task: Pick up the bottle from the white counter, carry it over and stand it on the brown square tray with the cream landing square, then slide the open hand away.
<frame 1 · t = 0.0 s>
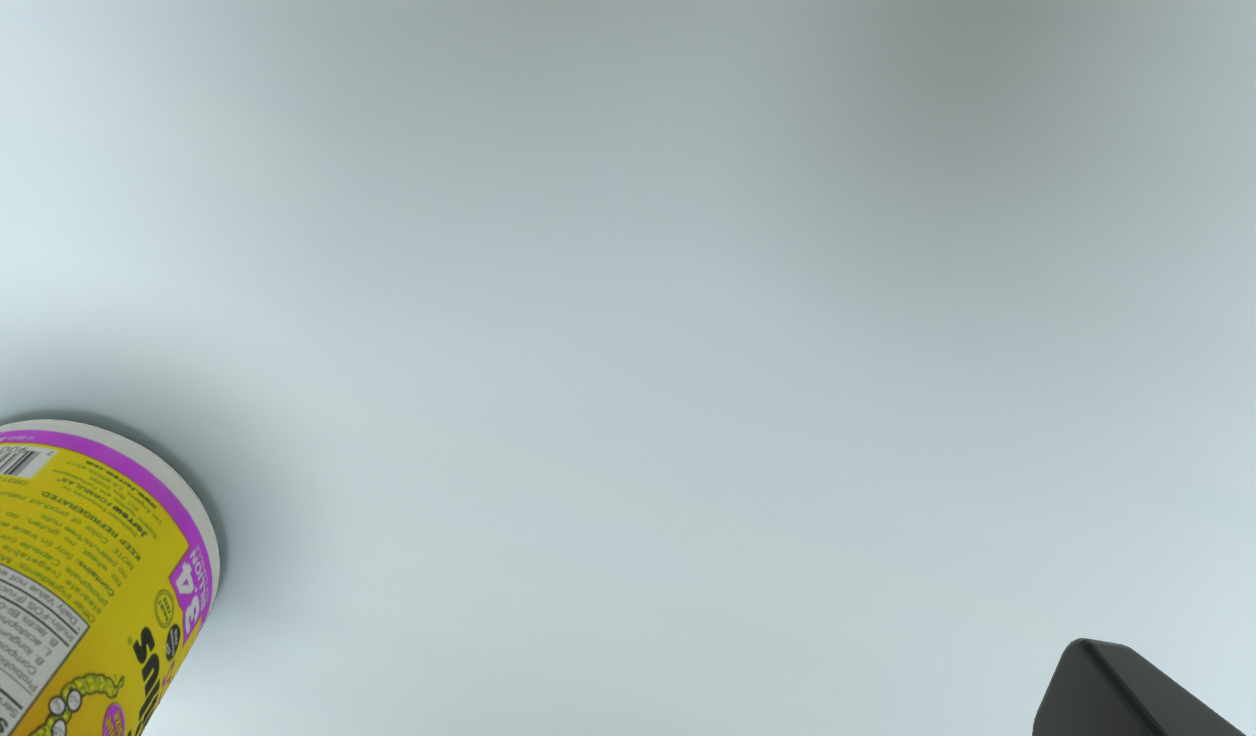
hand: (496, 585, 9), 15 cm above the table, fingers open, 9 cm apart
supplement bottle: (91, 529, 27), on the table
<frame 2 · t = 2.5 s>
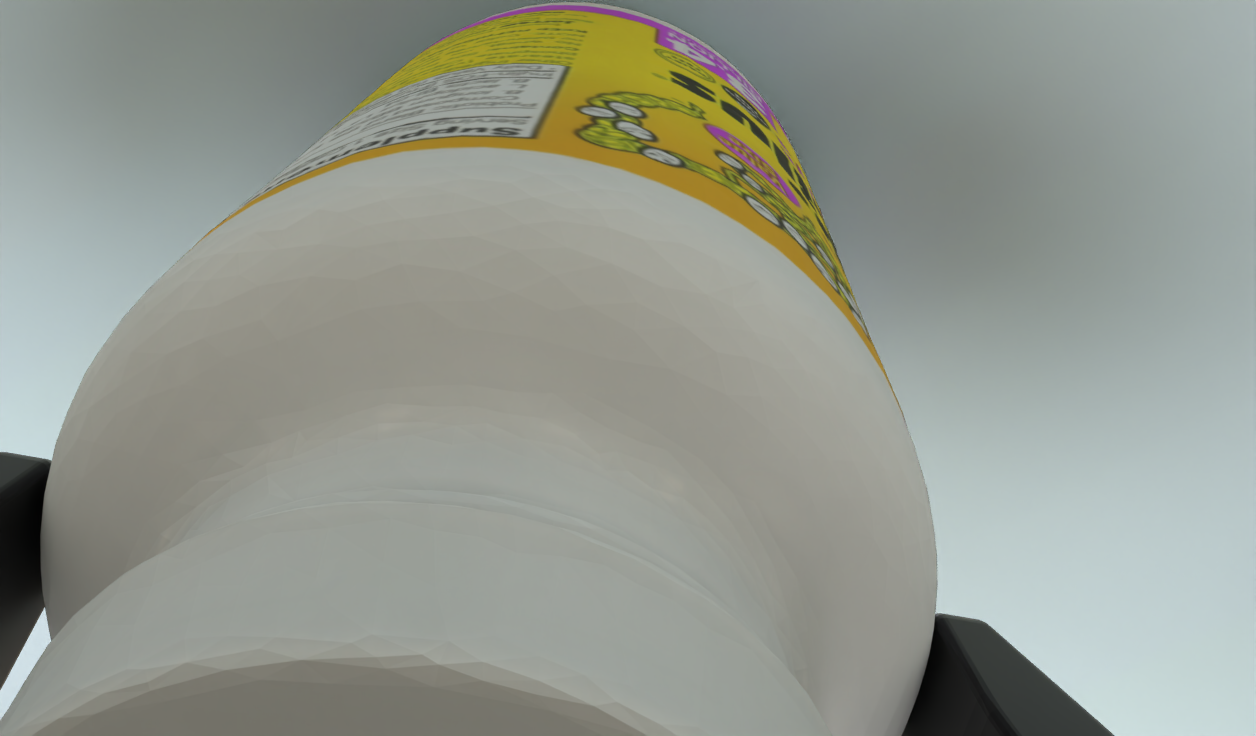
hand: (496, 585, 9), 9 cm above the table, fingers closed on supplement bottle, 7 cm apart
supplement bottle: (580, 219, 17), on the table, touching gripper
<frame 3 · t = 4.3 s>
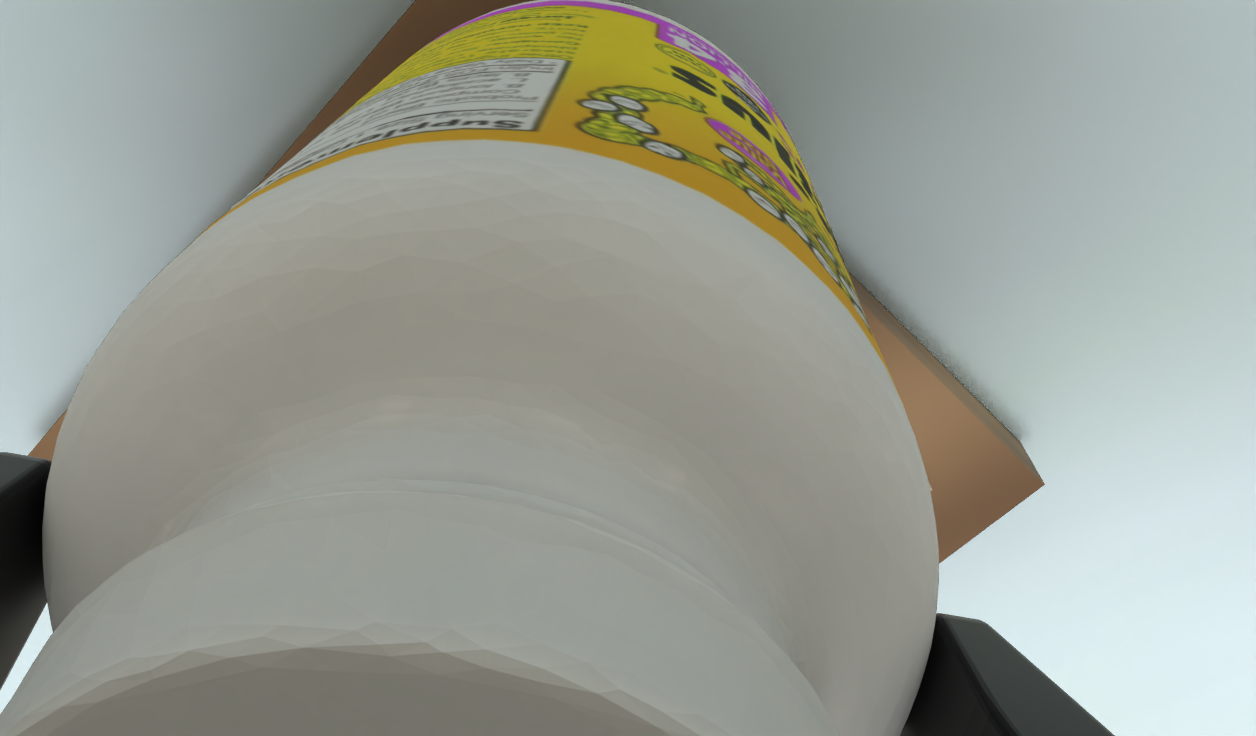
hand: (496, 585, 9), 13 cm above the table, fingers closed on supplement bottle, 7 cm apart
brown square tray: (525, 442, 23), on the table
supplement bottle: (580, 215, 17), point 4 cm above the table, touching gripper
when the fingers open (12 cm above the table, at t = 6.0 s): supplement bottle stays where it is, resting on brown square tray.
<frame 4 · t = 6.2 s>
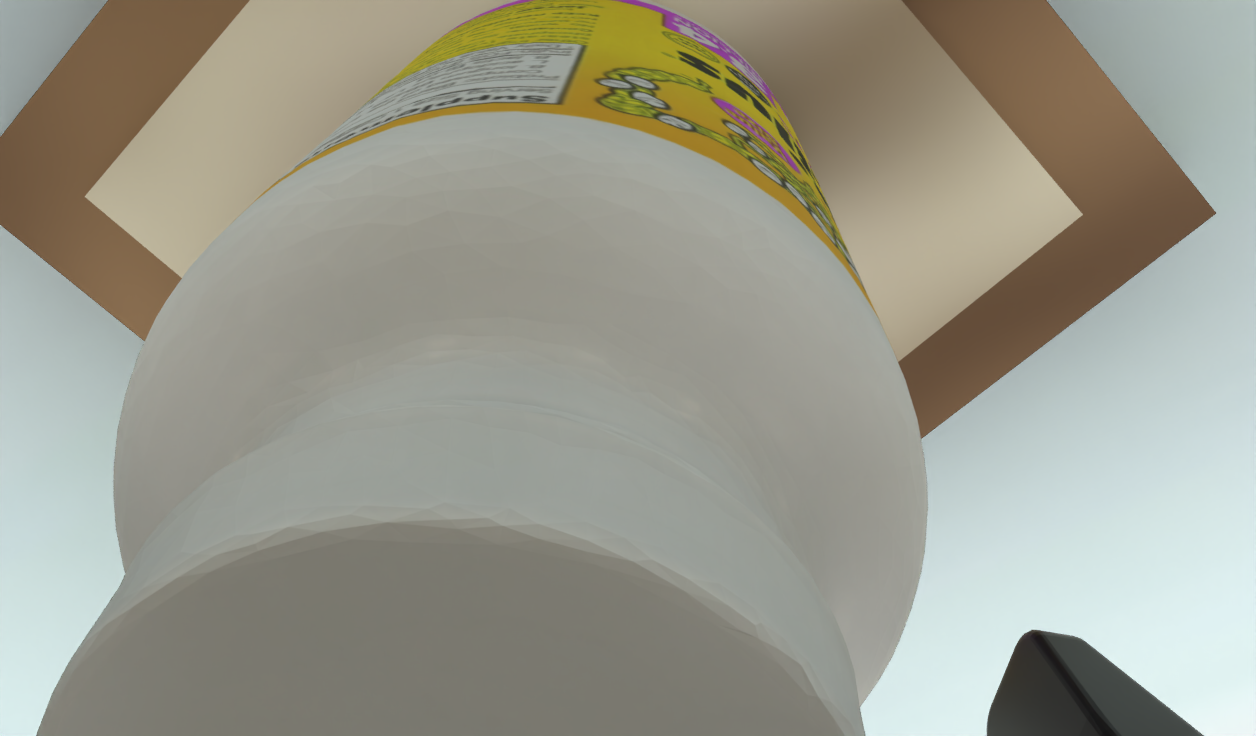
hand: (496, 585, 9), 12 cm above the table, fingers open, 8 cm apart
brown square tray: (586, 174, 20), on the table
supplement bottle: (589, 199, 18), point 2 cm above the table, touching brown square tray
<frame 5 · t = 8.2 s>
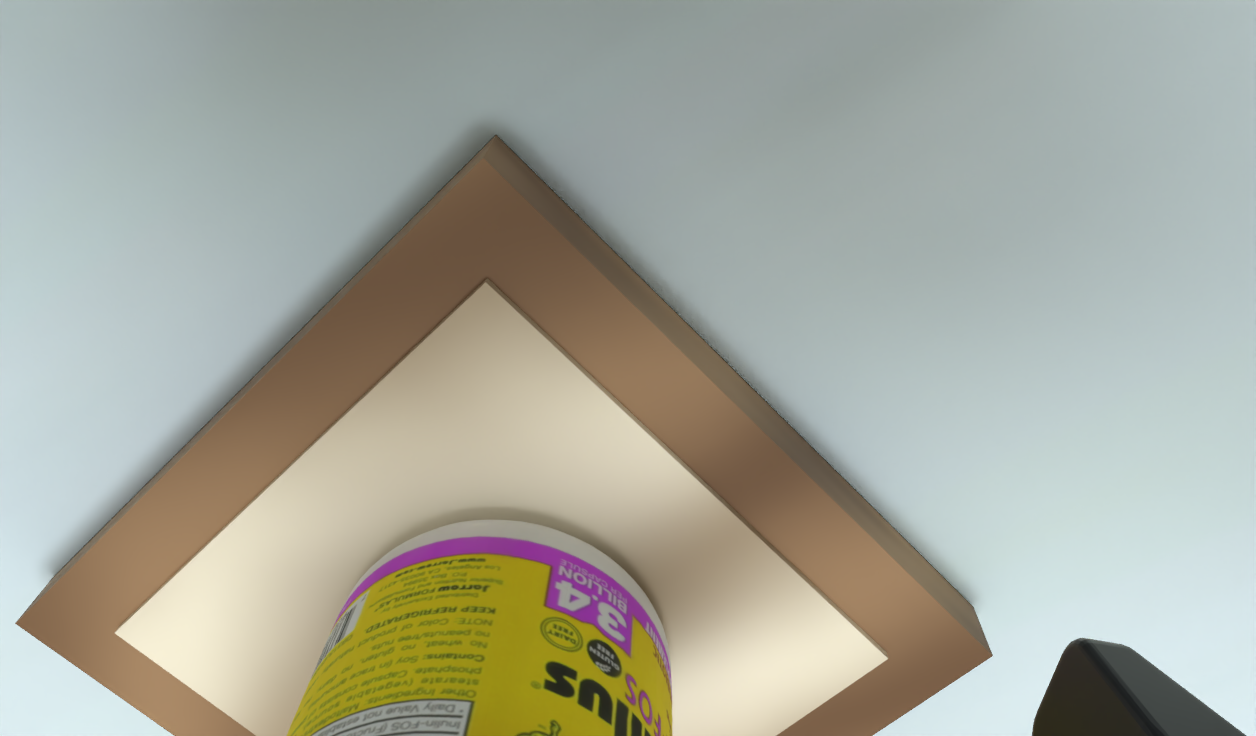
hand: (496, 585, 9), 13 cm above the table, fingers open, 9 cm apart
brown square tray: (509, 592, 25), on the table
supplement bottle: (507, 637, 23), point 2 cm above the table, touching brown square tray
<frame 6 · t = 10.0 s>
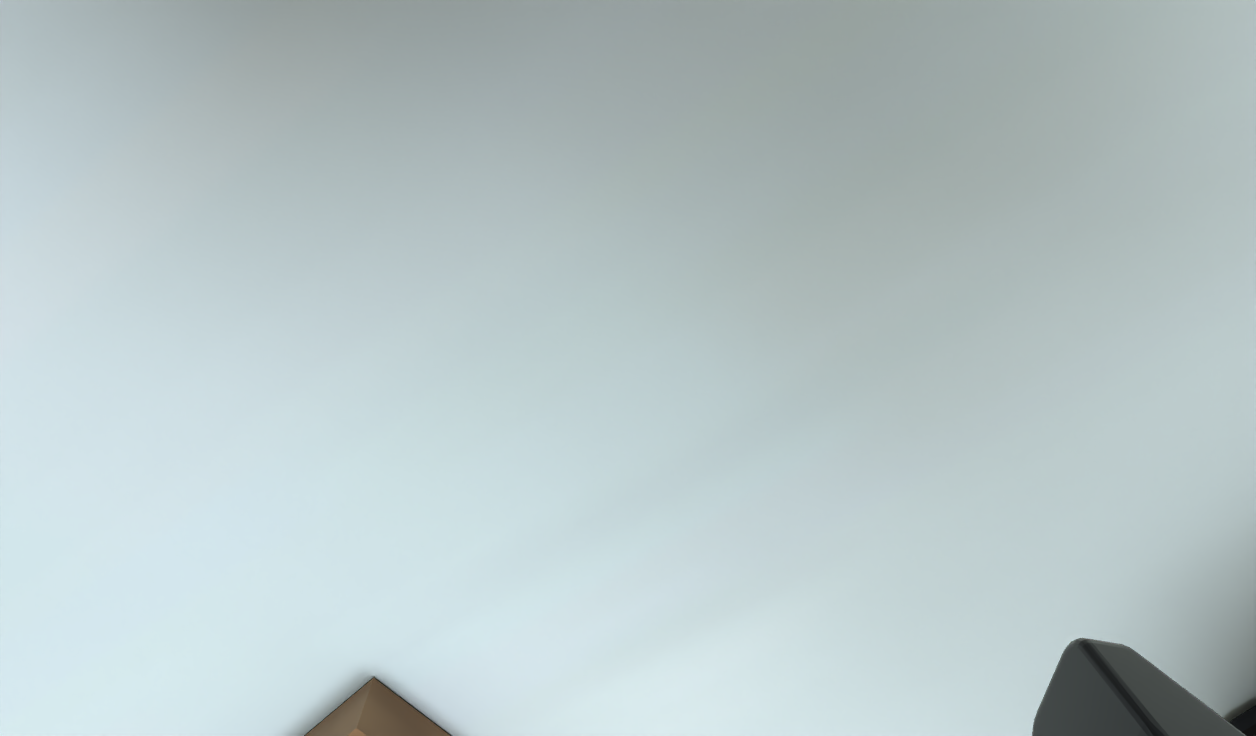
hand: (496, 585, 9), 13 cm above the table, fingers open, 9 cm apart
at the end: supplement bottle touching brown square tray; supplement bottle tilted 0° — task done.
